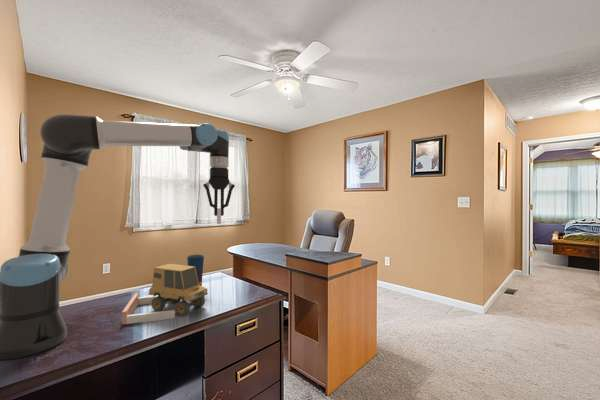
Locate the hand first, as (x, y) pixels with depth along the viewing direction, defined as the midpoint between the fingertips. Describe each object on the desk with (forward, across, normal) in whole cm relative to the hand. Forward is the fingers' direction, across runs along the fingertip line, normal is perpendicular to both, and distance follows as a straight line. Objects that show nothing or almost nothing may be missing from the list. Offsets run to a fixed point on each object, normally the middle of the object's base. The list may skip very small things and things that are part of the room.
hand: (218, 223), depth 118 cm
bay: (+30, -23, -12) cm, 39 cm away
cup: (+30, -9, +8) cm, 32 cm away
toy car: (+30, -14, -13) cm, 35 cm away
